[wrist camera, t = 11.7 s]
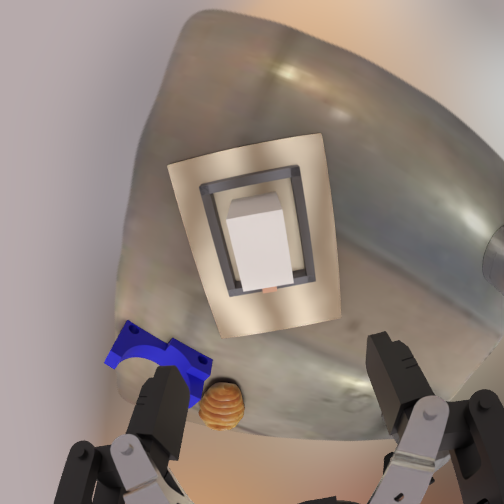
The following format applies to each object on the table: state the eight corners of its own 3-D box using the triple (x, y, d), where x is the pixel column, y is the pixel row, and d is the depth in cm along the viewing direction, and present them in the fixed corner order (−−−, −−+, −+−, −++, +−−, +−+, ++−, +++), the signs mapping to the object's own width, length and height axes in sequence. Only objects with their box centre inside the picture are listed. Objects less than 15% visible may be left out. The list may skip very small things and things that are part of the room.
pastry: (201, 374, 36) (197, 395, 32) (250, 381, 36) (249, 403, 33) (200, 410, 40) (196, 429, 36) (242, 416, 40) (240, 435, 36)
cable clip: (212, 358, 35) (207, 394, 30) (196, 375, 37) (189, 408, 31) (132, 311, 32) (114, 343, 27) (120, 332, 34) (103, 362, 28)
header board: (319, 133, 24) (325, 133, 21) (339, 312, 32) (344, 325, 29) (170, 164, 25) (162, 167, 23) (222, 333, 33) (220, 347, 31)
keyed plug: (275, 191, 25) (282, 209, 20) (287, 261, 28) (295, 294, 22) (232, 199, 25) (225, 219, 20) (247, 268, 28) (246, 303, 23)
